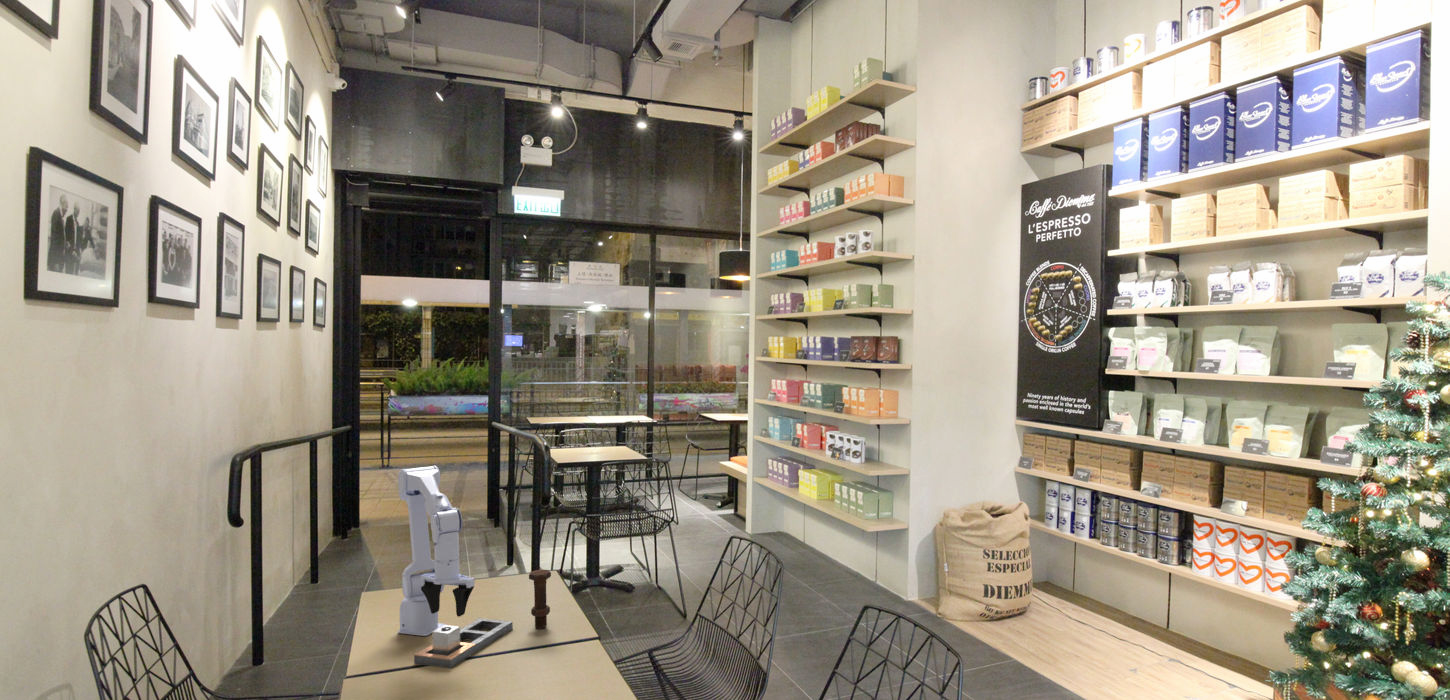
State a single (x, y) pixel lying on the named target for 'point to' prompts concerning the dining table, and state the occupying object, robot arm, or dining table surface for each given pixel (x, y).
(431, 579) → the robot arm
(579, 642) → the dining table surface
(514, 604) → the dining table surface
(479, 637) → the frame with rectangular openings
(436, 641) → the grey rectangular block
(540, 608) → the bolt
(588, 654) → the dining table surface
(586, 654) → the dining table surface
